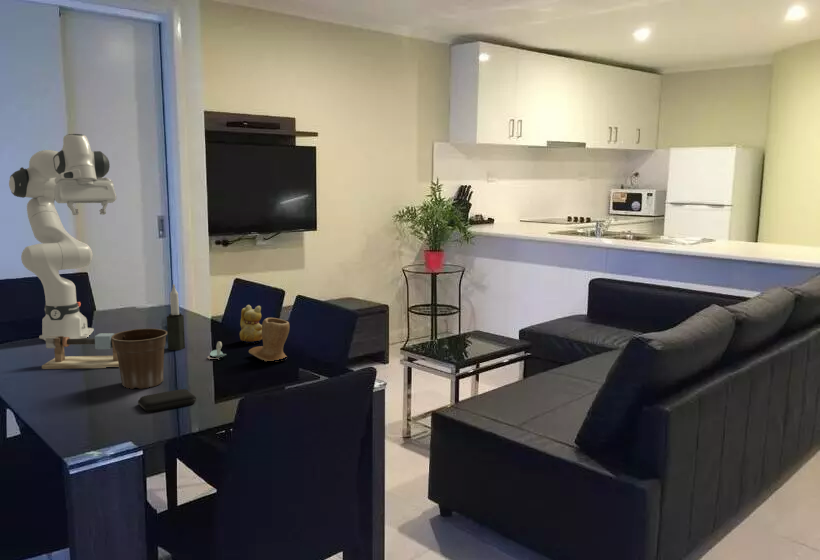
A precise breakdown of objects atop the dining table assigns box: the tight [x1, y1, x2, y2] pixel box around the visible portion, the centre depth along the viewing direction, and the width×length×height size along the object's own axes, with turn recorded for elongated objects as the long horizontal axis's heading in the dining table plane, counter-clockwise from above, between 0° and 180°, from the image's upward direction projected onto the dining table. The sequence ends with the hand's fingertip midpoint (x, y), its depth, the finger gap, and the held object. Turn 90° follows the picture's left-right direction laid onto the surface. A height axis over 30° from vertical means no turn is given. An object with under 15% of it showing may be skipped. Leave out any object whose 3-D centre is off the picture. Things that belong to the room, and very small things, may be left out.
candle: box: [166, 283, 186, 351], centre depth 251 cm, size 5×5×25 cm
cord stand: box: [41, 336, 119, 370], centre depth 231 cm, size 12×26×10 cm, turn 95°
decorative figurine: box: [239, 304, 263, 342], centre depth 262 cm, size 10×8×15 cm
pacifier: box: [207, 341, 227, 360], centre depth 239 cm, size 7×6×6 cm
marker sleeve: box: [94, 332, 115, 350], centre depth 231 cm, size 5×5×5 cm
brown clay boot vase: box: [248, 317, 291, 362], centre depth 239 cm, size 15×12×15 cm
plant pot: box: [111, 328, 168, 390], centre depth 208 cm, size 16×16×16 cm
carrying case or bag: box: [137, 388, 197, 413], centre depth 190 cm, size 11×3×15 cm
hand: (89, 214), depth 235 cm, fingers open, 8 cm apart
